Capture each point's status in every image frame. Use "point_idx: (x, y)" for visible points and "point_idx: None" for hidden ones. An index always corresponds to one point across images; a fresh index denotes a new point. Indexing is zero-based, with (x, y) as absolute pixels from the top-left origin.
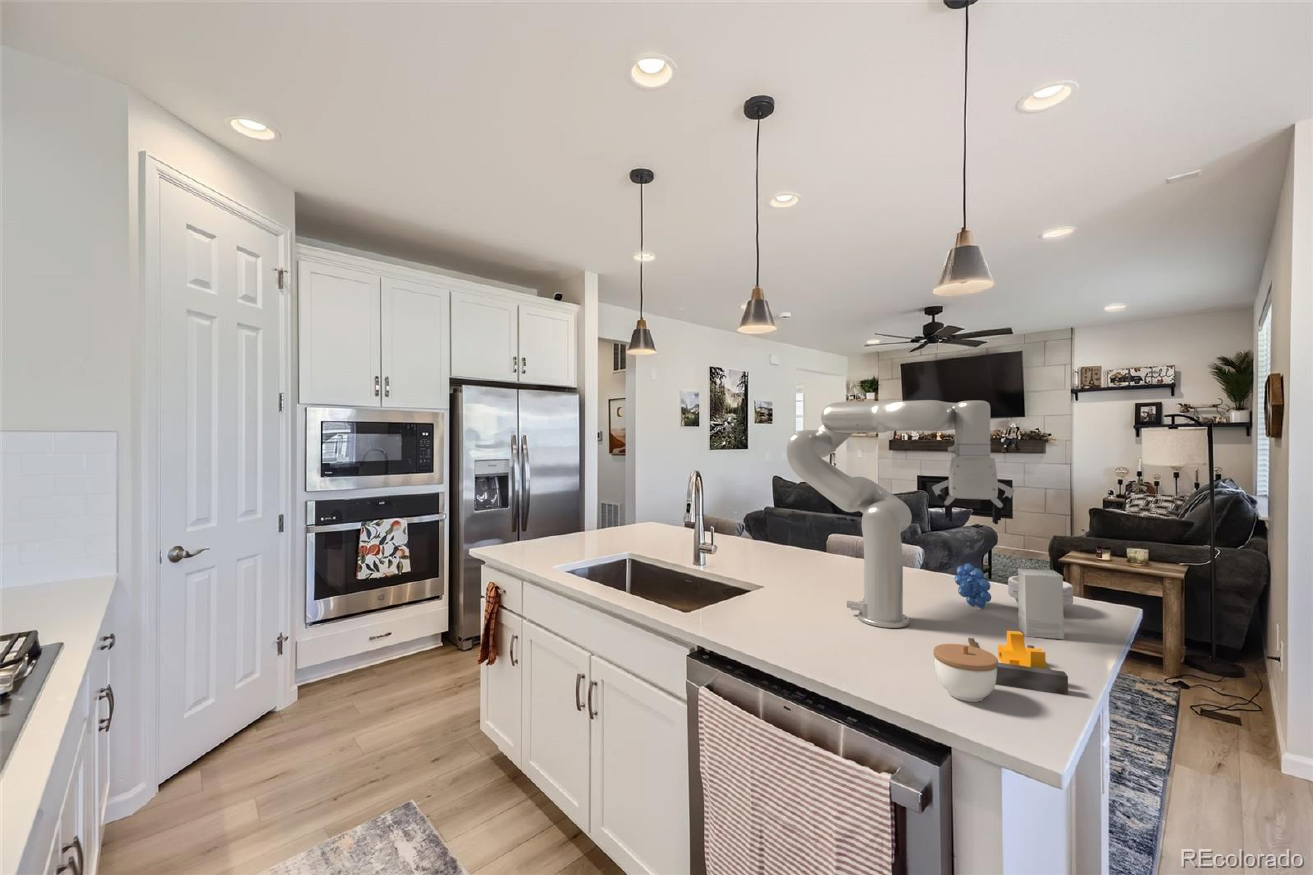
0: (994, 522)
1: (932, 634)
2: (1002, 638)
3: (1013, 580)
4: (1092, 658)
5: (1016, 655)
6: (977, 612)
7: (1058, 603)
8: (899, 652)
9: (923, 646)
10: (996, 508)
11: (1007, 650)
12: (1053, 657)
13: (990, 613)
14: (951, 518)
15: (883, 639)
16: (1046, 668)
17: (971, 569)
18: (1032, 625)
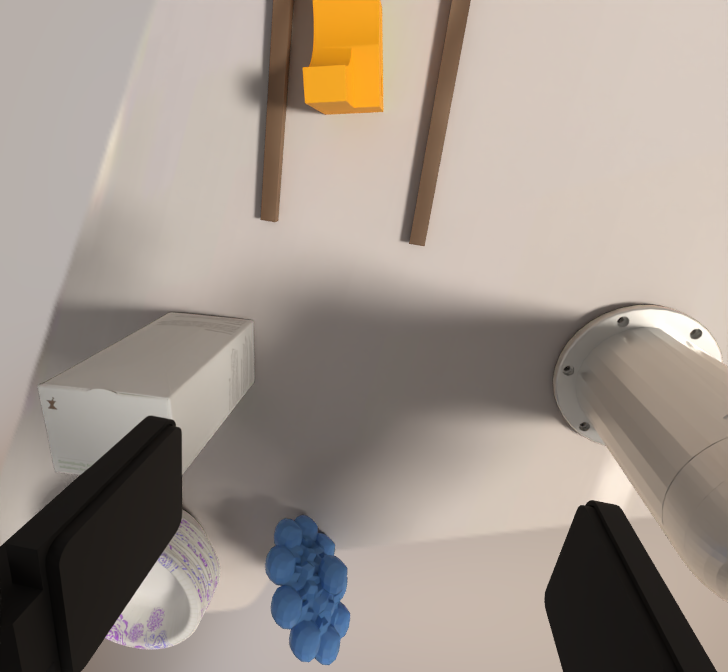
0: (175, 434)
1: (513, 280)
2: (320, 290)
3: (190, 598)
4: (137, 184)
5: (348, 33)
6: (324, 488)
7: (121, 345)
8: (690, 75)
9: (582, 159)
10: (37, 536)
11: (367, 50)
12: (230, 164)
13: (293, 485)
14: (600, 526)
15: (699, 195)
16: (279, 19)
17: (300, 629)
18: (227, 327)
